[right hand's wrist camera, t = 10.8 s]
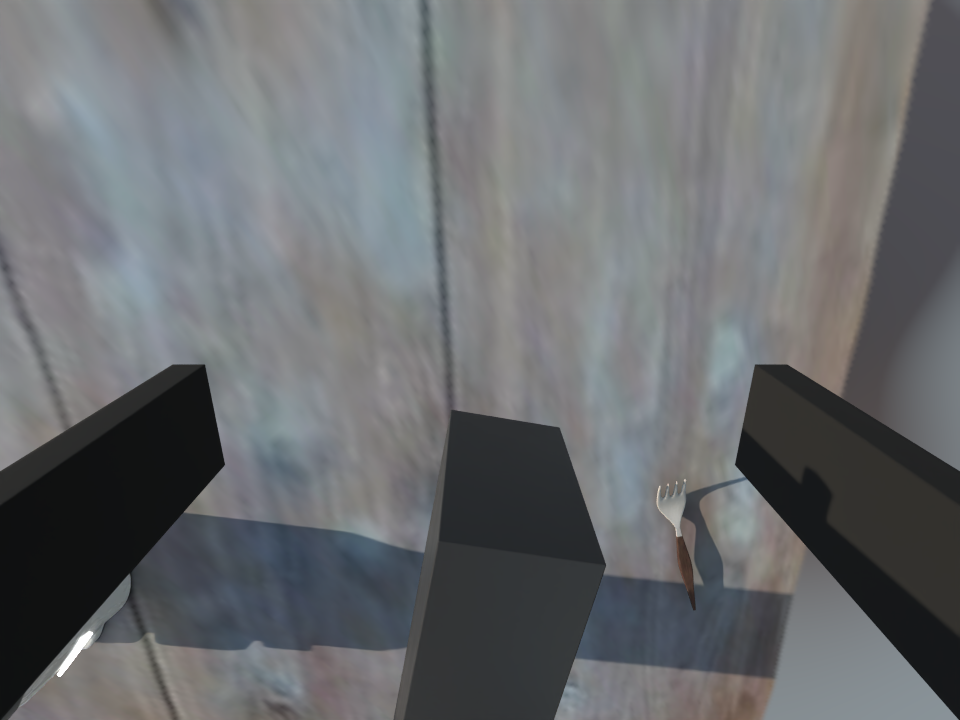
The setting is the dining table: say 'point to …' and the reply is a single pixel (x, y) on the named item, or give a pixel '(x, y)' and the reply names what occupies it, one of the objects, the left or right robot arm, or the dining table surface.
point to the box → (500, 577)
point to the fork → (678, 532)
